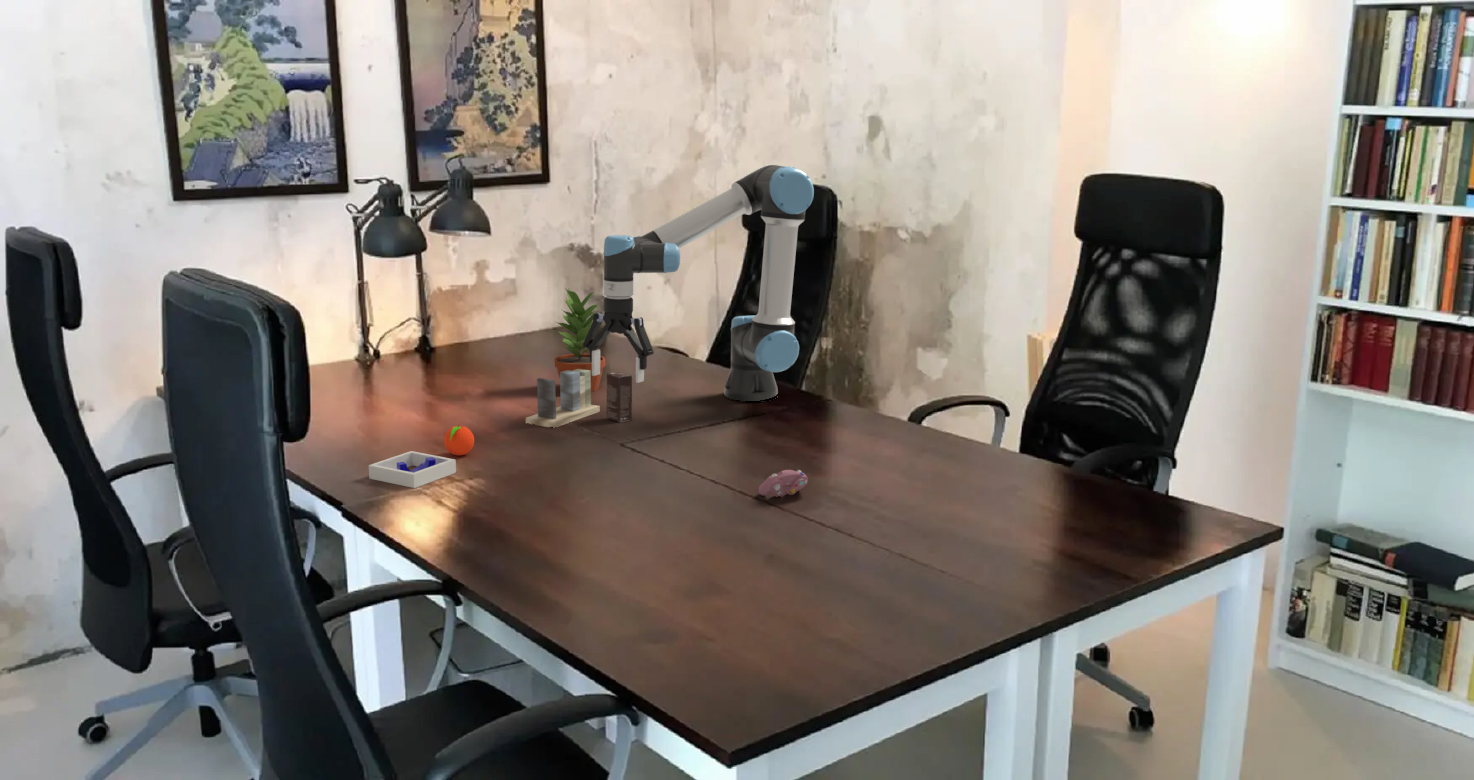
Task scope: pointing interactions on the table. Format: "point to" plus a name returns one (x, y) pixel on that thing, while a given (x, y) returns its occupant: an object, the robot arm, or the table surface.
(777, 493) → the video game controller
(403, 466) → the cable holder
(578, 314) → the potted plant
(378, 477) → the desk organiser frame
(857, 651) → the table surface
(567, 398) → the book rack
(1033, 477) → the table surface
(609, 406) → the box
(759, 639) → the table surface
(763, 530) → the table surface
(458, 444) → the clementine
